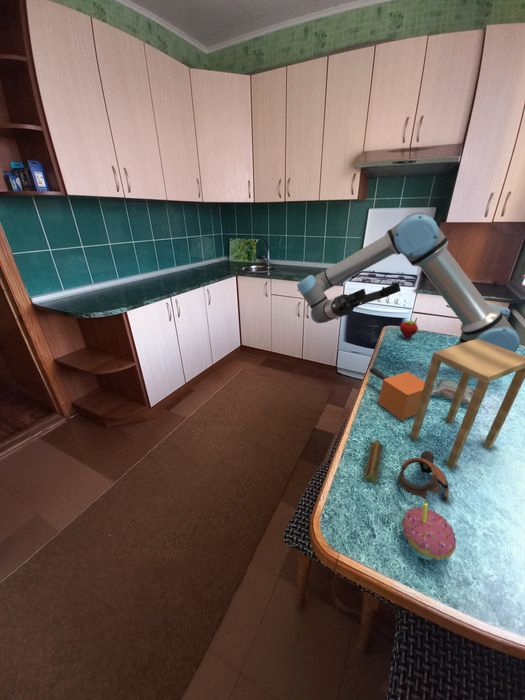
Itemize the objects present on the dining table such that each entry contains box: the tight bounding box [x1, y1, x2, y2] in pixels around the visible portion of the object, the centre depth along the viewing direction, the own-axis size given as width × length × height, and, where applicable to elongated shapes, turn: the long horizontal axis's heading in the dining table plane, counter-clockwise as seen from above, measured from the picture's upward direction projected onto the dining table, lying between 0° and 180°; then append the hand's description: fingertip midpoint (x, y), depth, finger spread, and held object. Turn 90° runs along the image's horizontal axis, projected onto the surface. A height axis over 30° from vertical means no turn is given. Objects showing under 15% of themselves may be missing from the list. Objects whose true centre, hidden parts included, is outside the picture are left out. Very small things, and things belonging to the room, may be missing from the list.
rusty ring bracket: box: [398, 450, 450, 502], centre depth 64 cm, size 12×9×8 cm
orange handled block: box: [369, 366, 425, 421], centre depth 92 cm, size 10×19×9 cm, turn 25°
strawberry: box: [399, 320, 419, 340], centre depth 131 cm, size 6×8×10 cm
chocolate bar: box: [363, 439, 383, 484], centre depth 71 cm, size 3×12×2 cm, turn 154°
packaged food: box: [432, 378, 475, 406], centre depth 92 cm, size 9×12×5 cm
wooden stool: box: [409, 339, 525, 470], centre depth 71 cm, size 16×12×26 cm
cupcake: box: [401, 499, 457, 561], centre depth 51 cm, size 9×8×12 cm
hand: (382, 290), depth 87 cm, fingers open, 13 cm apart
